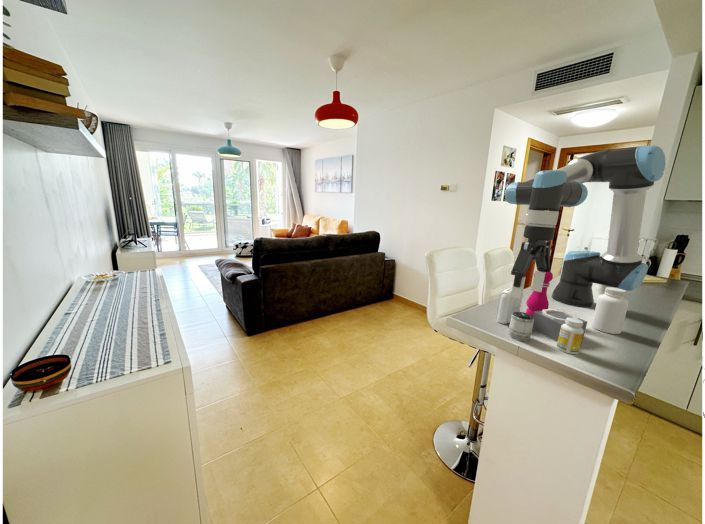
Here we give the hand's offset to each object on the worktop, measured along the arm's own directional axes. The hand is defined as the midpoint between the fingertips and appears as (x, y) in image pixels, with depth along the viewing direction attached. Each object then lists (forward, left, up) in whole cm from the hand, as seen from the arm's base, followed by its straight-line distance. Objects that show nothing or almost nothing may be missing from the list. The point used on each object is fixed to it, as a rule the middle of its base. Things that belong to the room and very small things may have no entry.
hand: (526, 294), depth 88 cm
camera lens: (0, 0, -15) cm, 15 cm away
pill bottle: (-37, +1, -15) cm, 40 cm away
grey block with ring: (-16, 0, -15) cm, 21 cm away
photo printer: (-7, -12, -15) cm, 20 cm away
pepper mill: (-22, -14, -15) cm, 30 cm away
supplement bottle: (-9, +9, -15) cm, 20 cm away
